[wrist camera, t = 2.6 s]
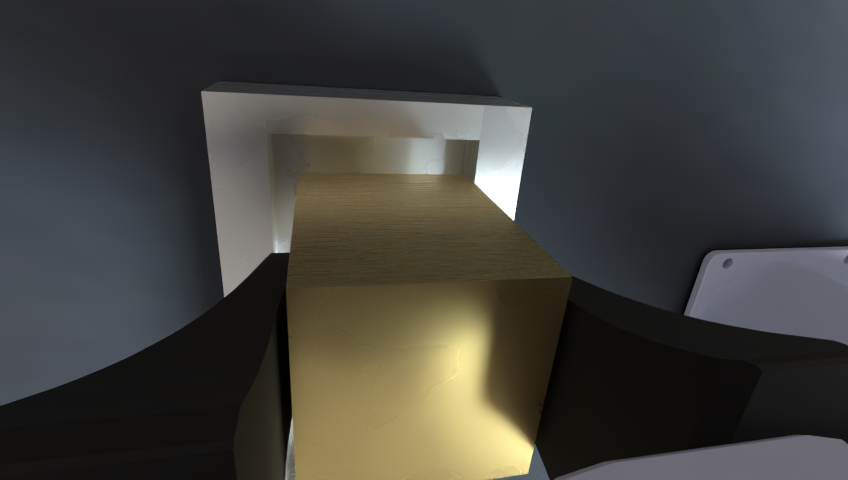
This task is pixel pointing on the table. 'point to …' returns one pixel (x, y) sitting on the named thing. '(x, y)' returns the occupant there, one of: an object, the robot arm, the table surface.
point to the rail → (342, 155)
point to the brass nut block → (416, 329)
